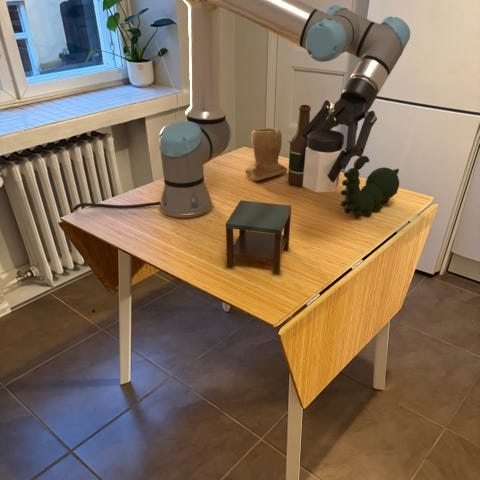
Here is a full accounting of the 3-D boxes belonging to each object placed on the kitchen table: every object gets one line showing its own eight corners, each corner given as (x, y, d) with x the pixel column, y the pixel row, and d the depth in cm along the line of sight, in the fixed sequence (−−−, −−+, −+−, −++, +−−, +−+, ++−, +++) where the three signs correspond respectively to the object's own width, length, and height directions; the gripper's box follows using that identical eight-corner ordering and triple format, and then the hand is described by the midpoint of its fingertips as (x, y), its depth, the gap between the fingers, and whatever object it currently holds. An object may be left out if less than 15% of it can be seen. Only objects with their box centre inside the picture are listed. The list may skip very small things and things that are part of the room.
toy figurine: (357, 232, 132) (407, 199, 144) (364, 168, 119) (418, 137, 131) (331, 221, 138) (381, 190, 149) (335, 159, 125) (390, 130, 136)
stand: (227, 267, 115) (225, 223, 108) (240, 242, 125) (240, 200, 118) (278, 274, 113) (281, 229, 105) (288, 248, 122) (291, 205, 115)
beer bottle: (315, 184, 155) (323, 106, 140) (296, 189, 152) (301, 110, 137) (302, 176, 160) (307, 101, 145) (283, 181, 157) (286, 104, 142)
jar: (345, 187, 113) (353, 136, 105) (322, 196, 109) (328, 143, 101) (318, 175, 118) (323, 126, 111) (295, 184, 114) (299, 133, 107)
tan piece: (270, 164, 169) (271, 121, 160) (292, 174, 161) (294, 129, 152) (236, 174, 162) (235, 129, 153) (257, 185, 154) (258, 139, 145)
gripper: (409, 106, 105) (357, 194, 106) (330, 89, 117) (285, 169, 118) (402, 84, 99) (347, 178, 100) (320, 68, 111) (272, 153, 112)
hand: (313, 173), depth 109 cm, fingers closed on jar, 9 cm apart
